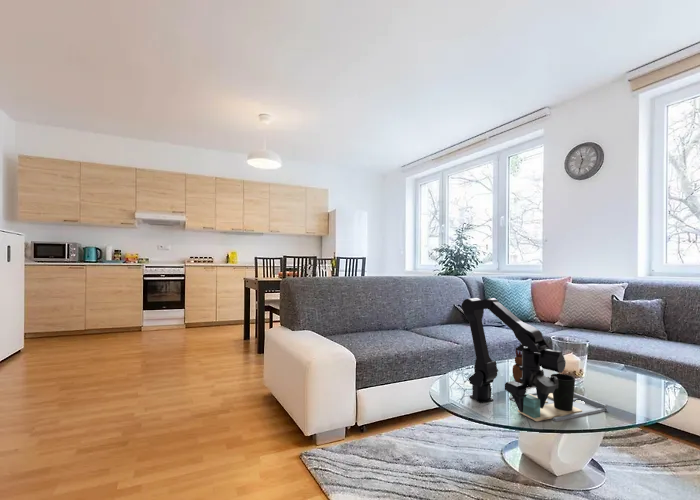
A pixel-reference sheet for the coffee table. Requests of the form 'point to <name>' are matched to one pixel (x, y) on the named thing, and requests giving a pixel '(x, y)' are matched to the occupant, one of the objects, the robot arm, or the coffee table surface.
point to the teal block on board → (536, 413)
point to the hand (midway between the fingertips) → (531, 410)
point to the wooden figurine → (517, 367)
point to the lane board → (578, 406)
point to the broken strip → (548, 396)
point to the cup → (564, 392)
